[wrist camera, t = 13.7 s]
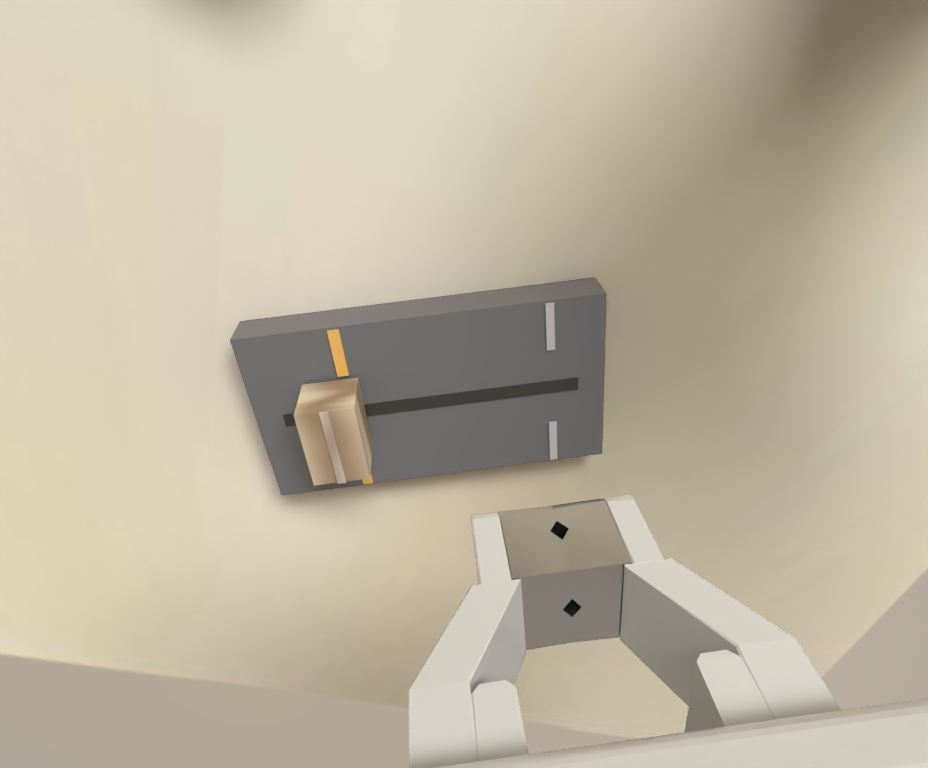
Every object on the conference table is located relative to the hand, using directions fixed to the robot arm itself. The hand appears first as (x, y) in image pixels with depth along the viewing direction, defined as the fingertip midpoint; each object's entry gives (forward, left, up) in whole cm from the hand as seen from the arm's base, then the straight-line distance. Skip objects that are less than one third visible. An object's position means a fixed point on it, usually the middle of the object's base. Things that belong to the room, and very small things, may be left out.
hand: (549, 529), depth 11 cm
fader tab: (+10, +16, -30) cm, 35 cm away
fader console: (+3, +16, -33) cm, 37 cm away
